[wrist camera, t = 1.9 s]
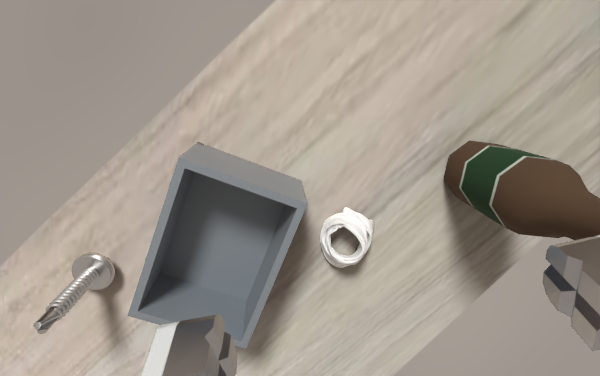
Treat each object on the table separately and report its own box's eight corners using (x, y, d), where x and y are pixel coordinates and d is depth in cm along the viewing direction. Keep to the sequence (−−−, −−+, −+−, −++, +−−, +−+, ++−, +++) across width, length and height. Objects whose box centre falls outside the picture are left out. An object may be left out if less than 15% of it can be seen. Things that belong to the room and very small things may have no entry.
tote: (250, 302, 49) (246, 349, 41) (154, 273, 47) (127, 315, 39) (301, 180, 45) (307, 203, 37) (197, 142, 43) (178, 157, 35)
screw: (114, 286, 47) (76, 274, 47) (125, 254, 46) (86, 241, 46) (58, 358, 35) (4, 344, 34) (71, 317, 34) (15, 300, 33)
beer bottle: (436, 148, 45) (605, 216, 22) (498, 130, 45) (730, 180, 22) (446, 205, 48) (609, 321, 25) (505, 189, 48) (723, 289, 24)
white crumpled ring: (354, 264, 50) (365, 286, 46) (308, 253, 49) (314, 275, 44) (378, 212, 48) (391, 230, 43) (330, 199, 46) (339, 216, 42)
